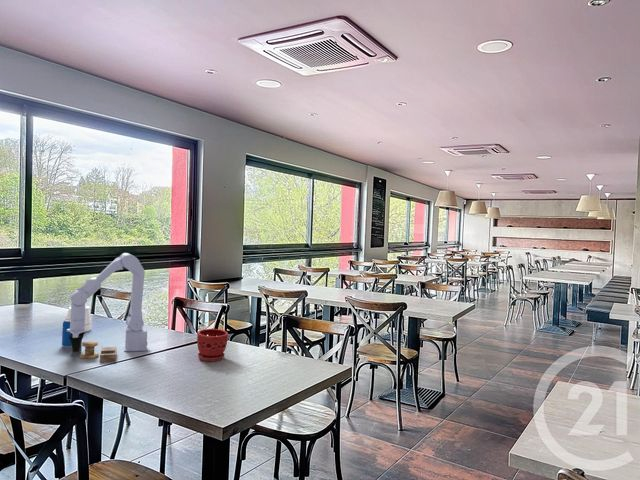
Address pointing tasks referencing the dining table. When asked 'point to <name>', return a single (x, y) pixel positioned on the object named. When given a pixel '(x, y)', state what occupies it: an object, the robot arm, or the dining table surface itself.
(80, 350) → the grey rectangular block
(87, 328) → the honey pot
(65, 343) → the beverage can
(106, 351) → the block with rectangular opening
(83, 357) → the spool
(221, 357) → the plant pot
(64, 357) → the dining table surface
